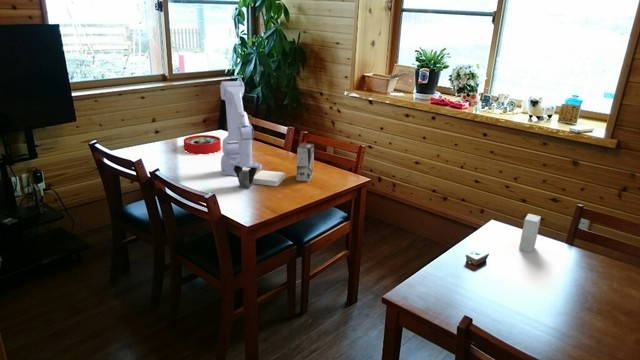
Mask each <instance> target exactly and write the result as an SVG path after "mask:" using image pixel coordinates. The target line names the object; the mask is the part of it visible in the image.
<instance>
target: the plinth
mask: <svg viewBox="0 0 640 360" xmlns="http://www.w3.org/2000/svg"><path fill="white" fill-rule="evenodd" d="M285 179H286V172H281V171H273V170H271V171H270V170H264V169H263V170H262V169H260V170H259V171H258V172H256V173H255V176H254V179H253V183H252V184H253V185H254V184H255V185H265V186H269V187H270V186H271V187H278V186H279V185H280V184H281V183H282V182H283V180H285Z"/></svg>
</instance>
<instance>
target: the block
mask: <svg viewBox="0 0 640 360" xmlns="http://www.w3.org/2000/svg"><path fill="white" fill-rule="evenodd" d="M248 170H249V169H248ZM248 170H246V169H242V171H241V172H240V173H239V180H238V183H239V184H238V185H239V189H247V190H250V189H251V188H252V187H253V186H254V183H252V184H250V182H249V180H250V177H249V171H248Z"/></svg>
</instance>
